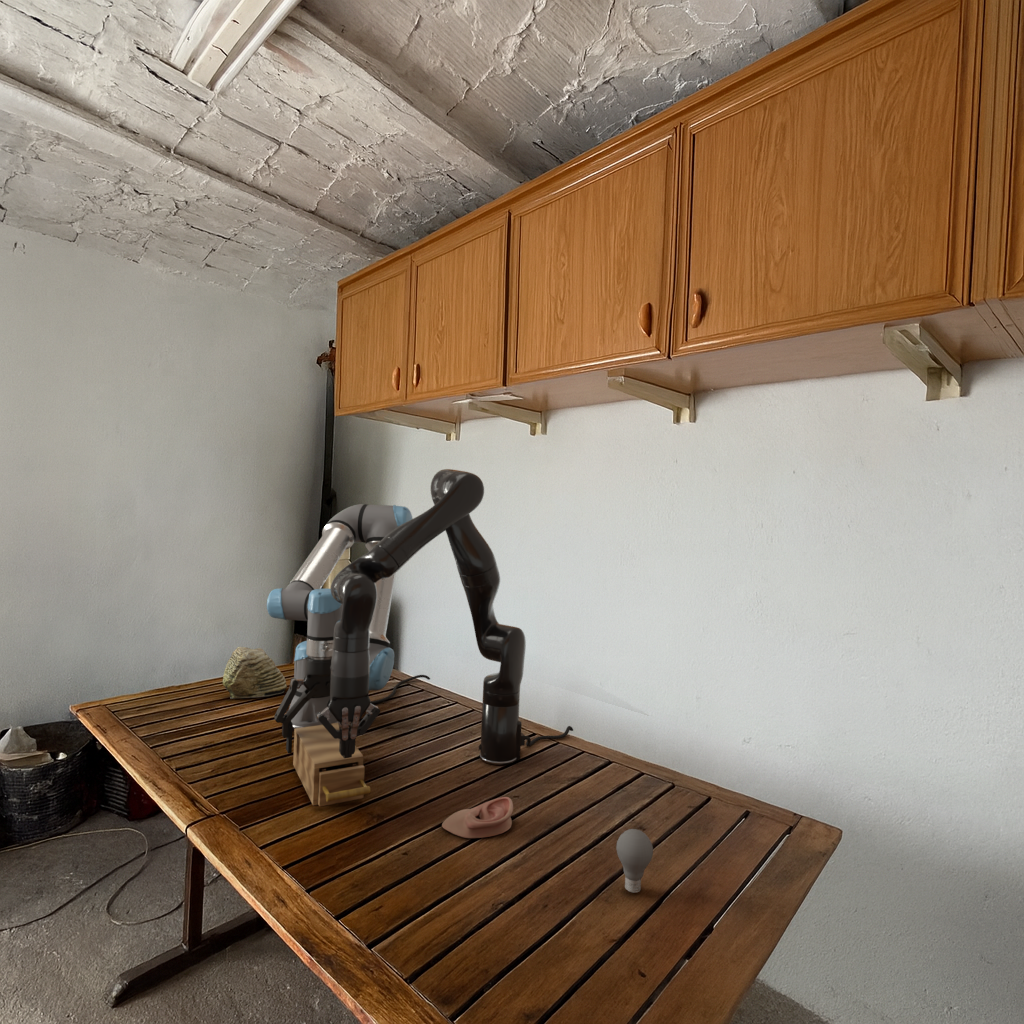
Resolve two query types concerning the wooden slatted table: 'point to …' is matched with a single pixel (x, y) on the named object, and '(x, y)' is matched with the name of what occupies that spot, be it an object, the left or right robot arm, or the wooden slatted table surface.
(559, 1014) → the wooden slatted table surface
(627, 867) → the light bulb
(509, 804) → the anatomical model
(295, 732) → the cabinet
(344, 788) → the drawer
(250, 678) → the fossil
